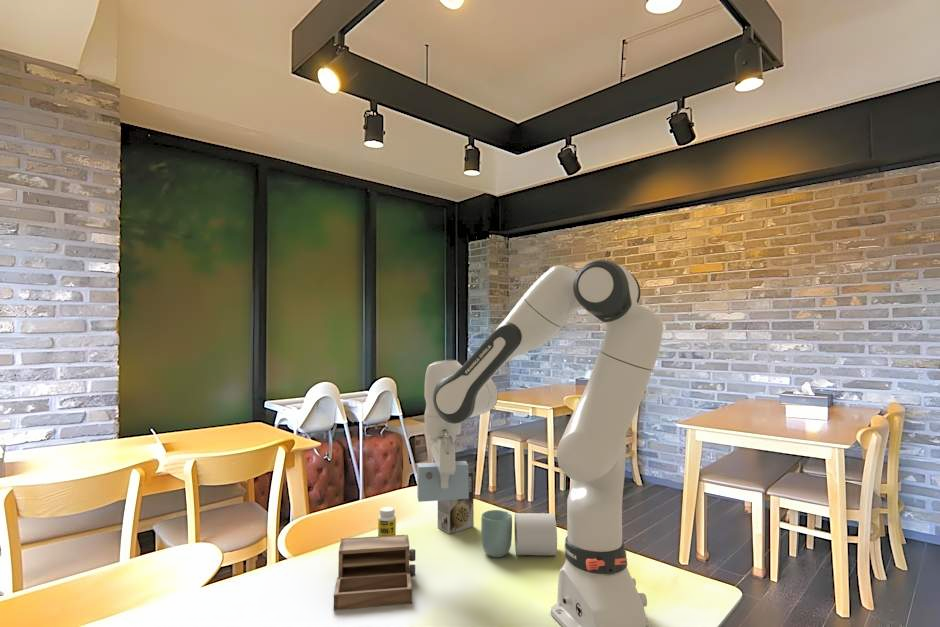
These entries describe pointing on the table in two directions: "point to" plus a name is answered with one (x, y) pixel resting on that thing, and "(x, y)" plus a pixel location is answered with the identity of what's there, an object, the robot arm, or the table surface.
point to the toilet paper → (535, 534)
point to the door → (431, 483)
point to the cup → (496, 532)
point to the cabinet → (374, 572)
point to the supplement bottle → (387, 522)
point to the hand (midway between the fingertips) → (442, 484)
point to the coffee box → (457, 512)
